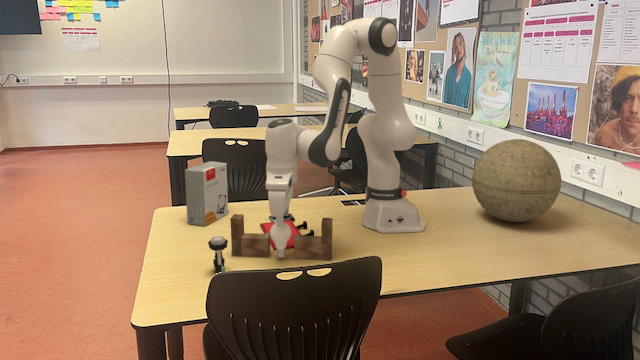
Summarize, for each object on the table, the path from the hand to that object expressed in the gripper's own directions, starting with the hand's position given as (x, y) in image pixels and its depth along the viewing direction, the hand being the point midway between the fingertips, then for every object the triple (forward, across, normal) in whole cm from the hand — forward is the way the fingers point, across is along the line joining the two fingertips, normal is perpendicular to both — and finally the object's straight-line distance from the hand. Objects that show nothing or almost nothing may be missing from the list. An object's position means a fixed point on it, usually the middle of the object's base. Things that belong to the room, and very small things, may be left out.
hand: (283, 220), depth 143 cm
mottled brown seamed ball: (+13, -40, +78) cm, 89 cm away
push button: (+11, +12, -17) cm, 23 cm away
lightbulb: (+11, +2, 0) cm, 12 cm away
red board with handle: (+12, -20, -2) cm, 23 cm away
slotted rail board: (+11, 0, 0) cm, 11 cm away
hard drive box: (+11, -29, -32) cm, 45 cm away
